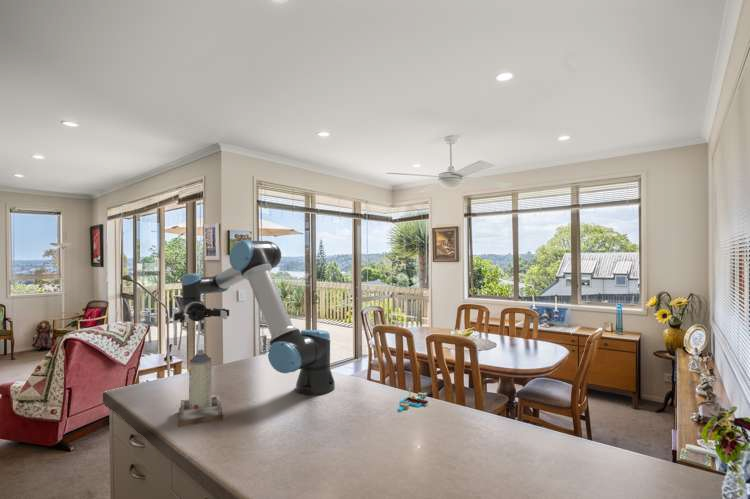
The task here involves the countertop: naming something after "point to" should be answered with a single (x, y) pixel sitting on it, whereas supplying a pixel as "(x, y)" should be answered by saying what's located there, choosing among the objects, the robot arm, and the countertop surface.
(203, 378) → the aerosol can
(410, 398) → the toy boat
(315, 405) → the countertop surface
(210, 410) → the shallow tray
